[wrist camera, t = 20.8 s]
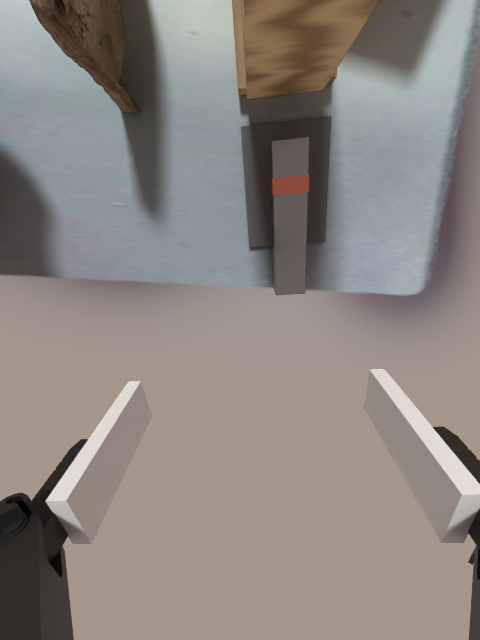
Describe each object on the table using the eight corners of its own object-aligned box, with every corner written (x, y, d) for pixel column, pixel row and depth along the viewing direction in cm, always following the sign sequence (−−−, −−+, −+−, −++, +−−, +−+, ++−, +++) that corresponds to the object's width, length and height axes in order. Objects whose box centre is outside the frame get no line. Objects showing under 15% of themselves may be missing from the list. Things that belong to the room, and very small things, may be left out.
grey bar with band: (300, 285, 43) (306, 293, 38) (272, 286, 43) (275, 295, 39) (302, 145, 35) (310, 136, 30) (268, 148, 35) (271, 140, 31)
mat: (249, 247, 41) (249, 247, 41) (241, 127, 34) (241, 126, 34) (324, 240, 40) (324, 241, 40) (330, 117, 34) (331, 116, 33)
